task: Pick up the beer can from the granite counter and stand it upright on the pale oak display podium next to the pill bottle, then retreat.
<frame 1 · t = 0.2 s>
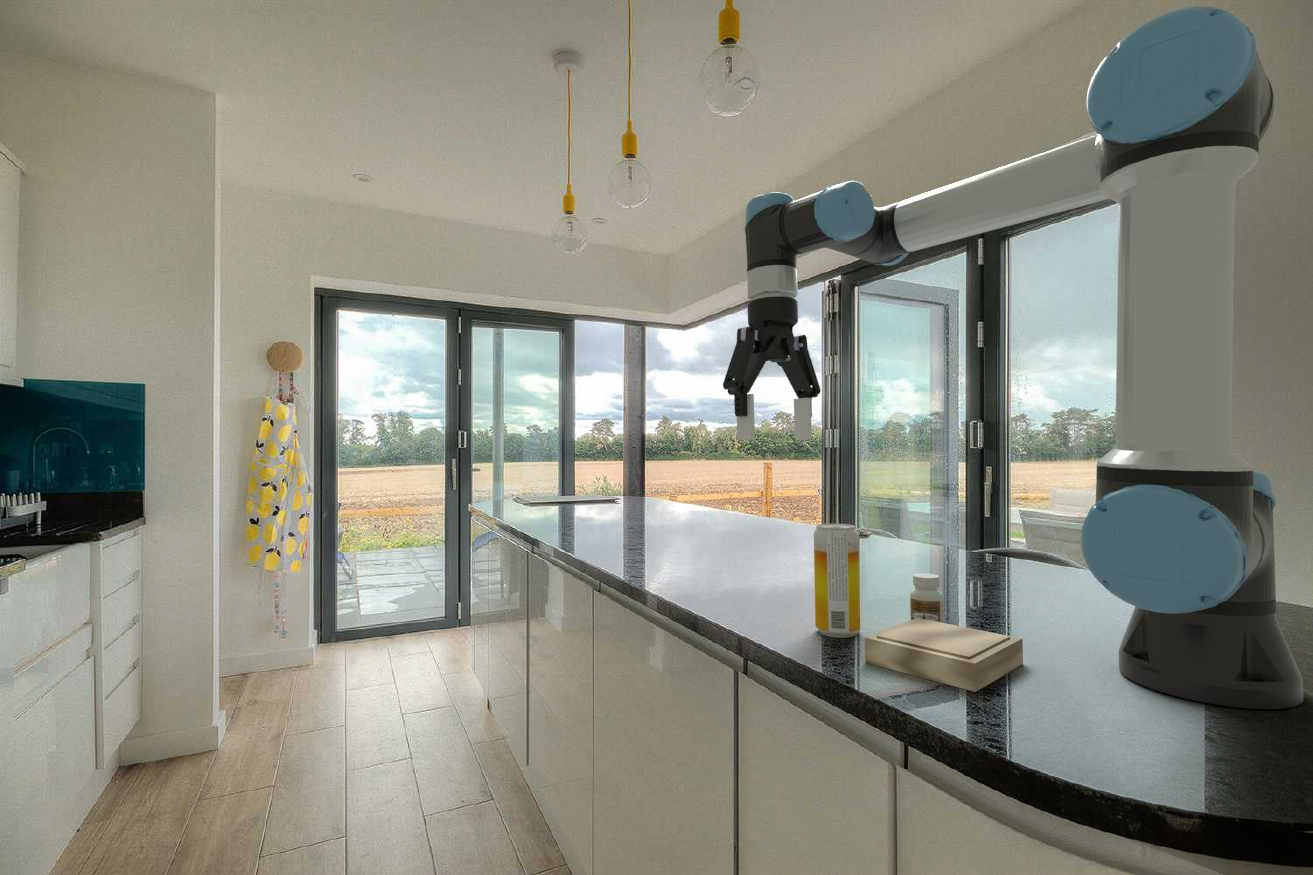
hand: (775, 439, 98), 27 cm above the counter, fingers open, 13 cm apart
pill bottle: (927, 631, 91), on the counter
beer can: (837, 634, 91), on the counter
podium: (943, 663, 78), on the counter
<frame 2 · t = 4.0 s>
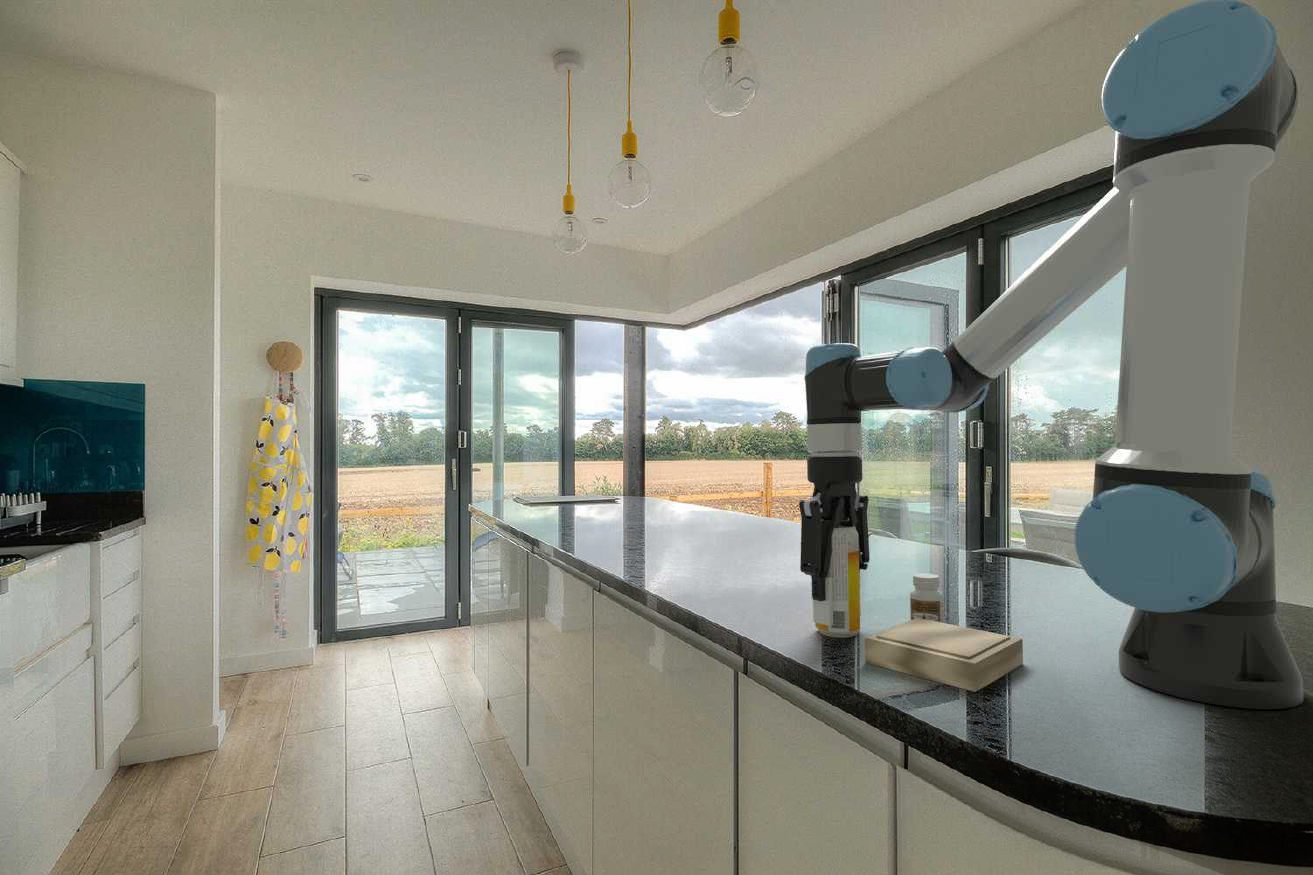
hand: (837, 618, 91), 2 cm above the counter, fingers closed on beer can, 6 cm apart
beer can: (837, 633, 91), on the counter, touching gripper
everything else where it was.
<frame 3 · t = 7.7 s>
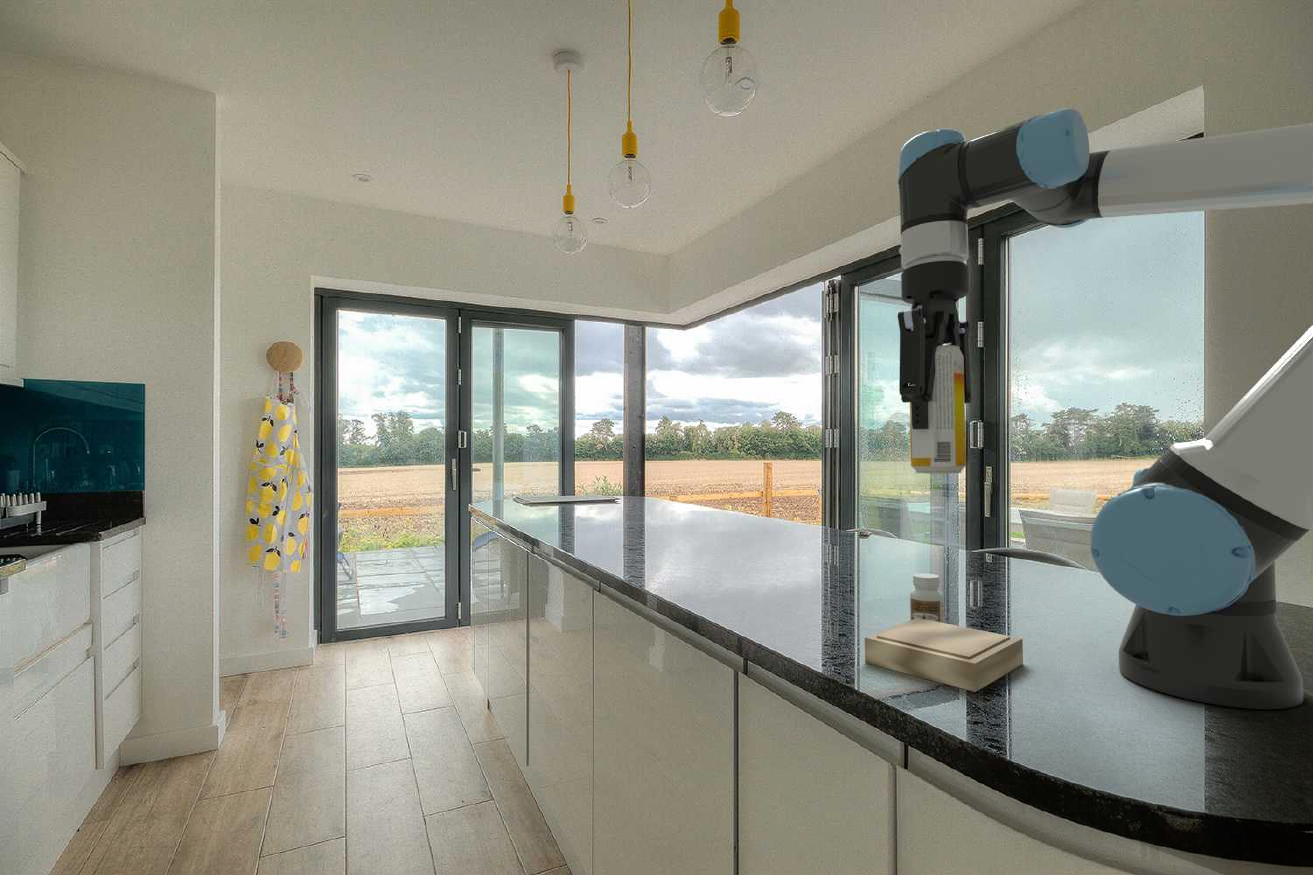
hand: (938, 457, 78), 25 cm above the counter, fingers closed on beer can, 6 cm apart
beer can: (938, 474, 78), point 23 cm above the counter, touching gripper
everything else where it was.
when the fingers open (6 cm above the counter, at t = 11.6 s): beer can drops 1 cm, resting on podium.
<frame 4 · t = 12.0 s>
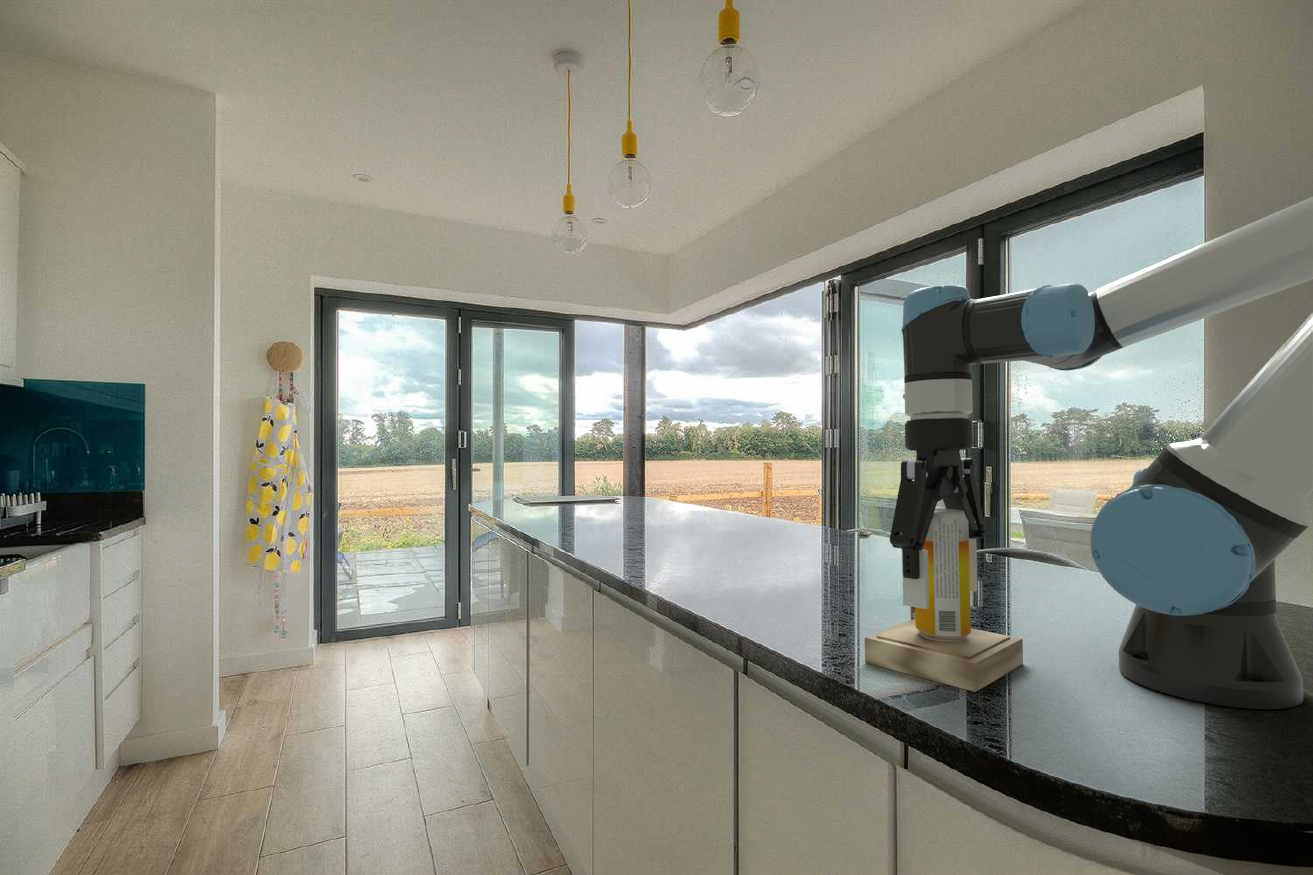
hand: (941, 597, 78), 8 cm above the counter, fingers open, 12 cm apart
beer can: (943, 637, 78), point 3 cm above the counter, touching podium
everything else where it was.
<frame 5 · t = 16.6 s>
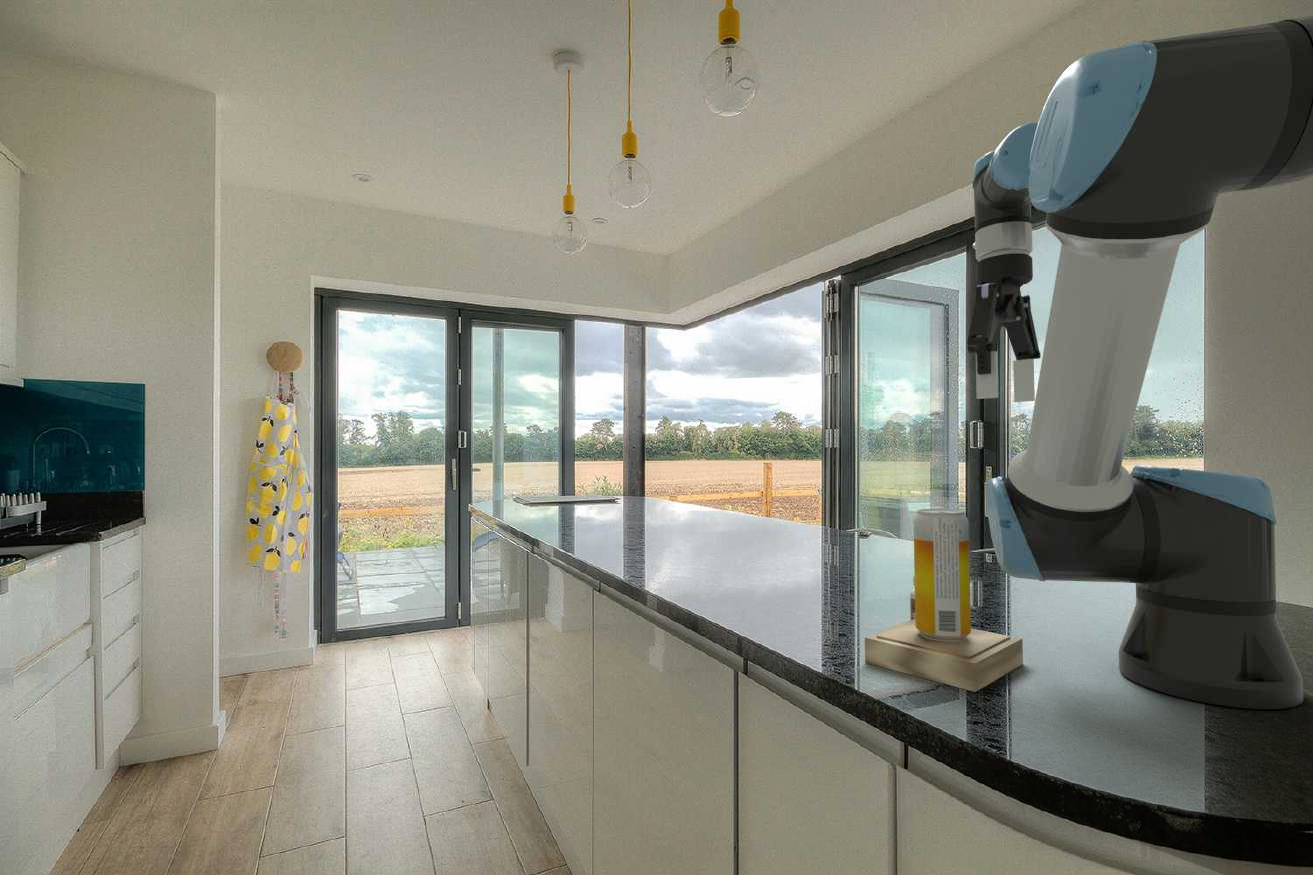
hand: (1006, 400, 97), 33 cm above the counter, fingers open, 13 cm apart
nothing on the counter moved.
at the end: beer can inside the target area on the podium (0.0 cm from its centre), point 3.1 cm above the podium's base; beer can tilted 0°; the gripper is holding nothing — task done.
